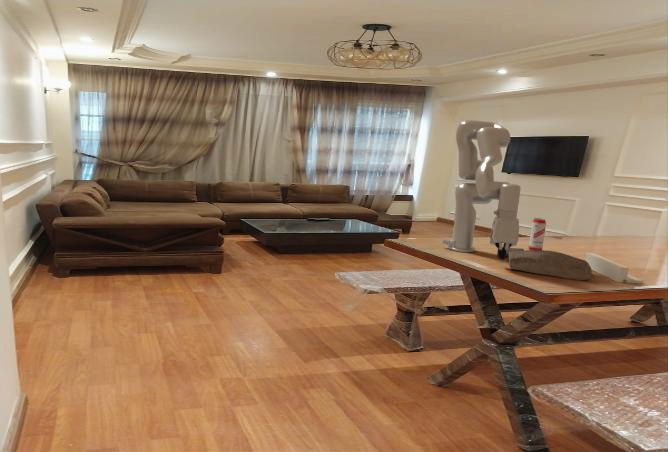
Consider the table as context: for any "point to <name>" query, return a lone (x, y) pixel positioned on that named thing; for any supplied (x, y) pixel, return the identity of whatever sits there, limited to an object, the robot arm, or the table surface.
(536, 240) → the beer can
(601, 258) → the rail
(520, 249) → the roller
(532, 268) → the stone tablet
